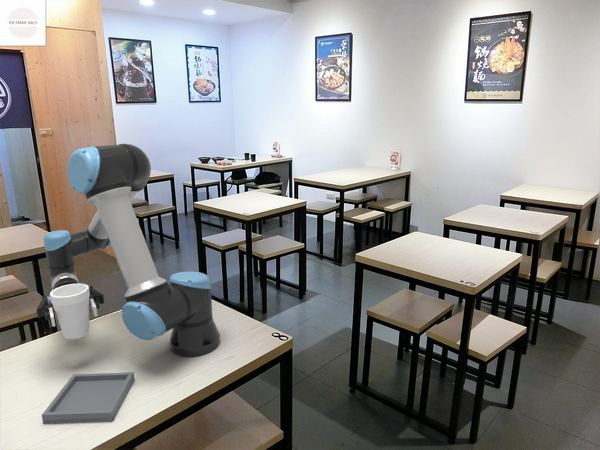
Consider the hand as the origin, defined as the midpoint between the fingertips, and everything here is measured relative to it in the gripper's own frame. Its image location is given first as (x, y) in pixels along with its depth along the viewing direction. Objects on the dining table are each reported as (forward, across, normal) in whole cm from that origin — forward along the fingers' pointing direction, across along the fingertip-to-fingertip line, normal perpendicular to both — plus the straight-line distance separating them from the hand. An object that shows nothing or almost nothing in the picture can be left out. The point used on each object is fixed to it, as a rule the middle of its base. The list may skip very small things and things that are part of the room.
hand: (74, 316), depth 116 cm
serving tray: (+13, 0, -18) cm, 22 cm away
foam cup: (-4, 0, -7) cm, 8 cm away
